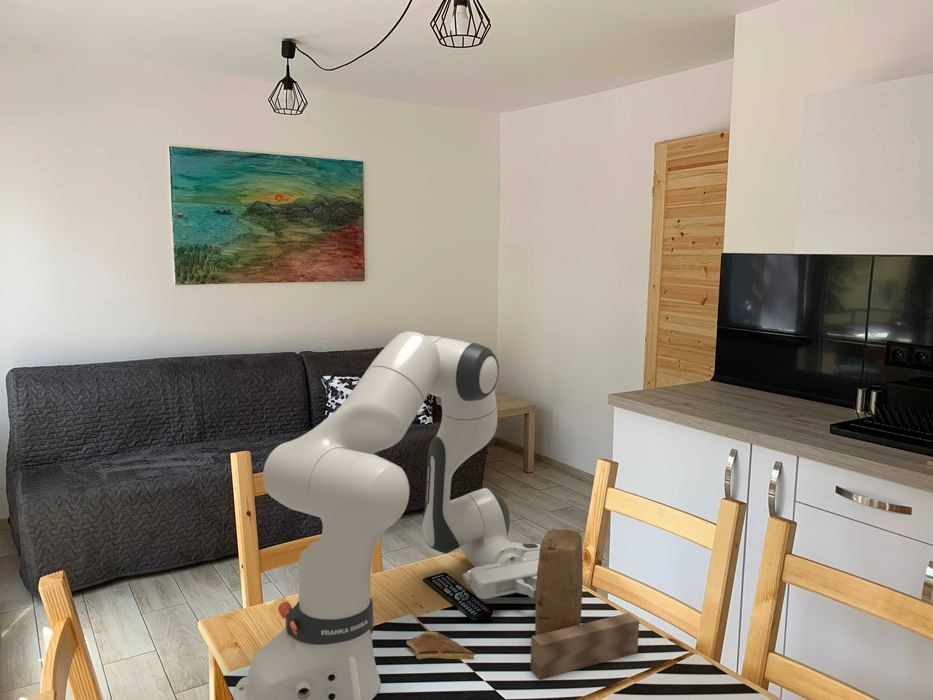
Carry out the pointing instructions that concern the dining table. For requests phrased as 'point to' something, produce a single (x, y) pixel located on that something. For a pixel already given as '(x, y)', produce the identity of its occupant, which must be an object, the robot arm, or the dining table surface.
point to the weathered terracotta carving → (559, 581)
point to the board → (584, 645)
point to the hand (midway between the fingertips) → (538, 593)
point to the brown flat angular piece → (438, 647)
